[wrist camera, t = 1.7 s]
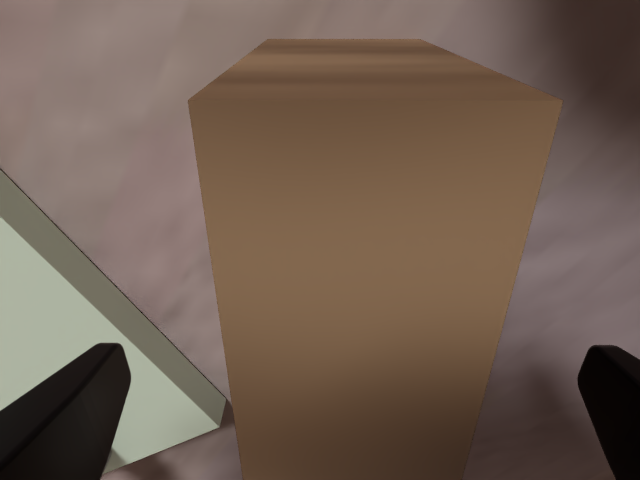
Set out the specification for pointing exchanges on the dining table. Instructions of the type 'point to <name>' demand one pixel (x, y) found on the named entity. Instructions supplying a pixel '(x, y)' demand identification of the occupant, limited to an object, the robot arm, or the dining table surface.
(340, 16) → the dining table surface
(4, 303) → the ledge board
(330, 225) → the brown wooden block
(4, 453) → the robot arm
